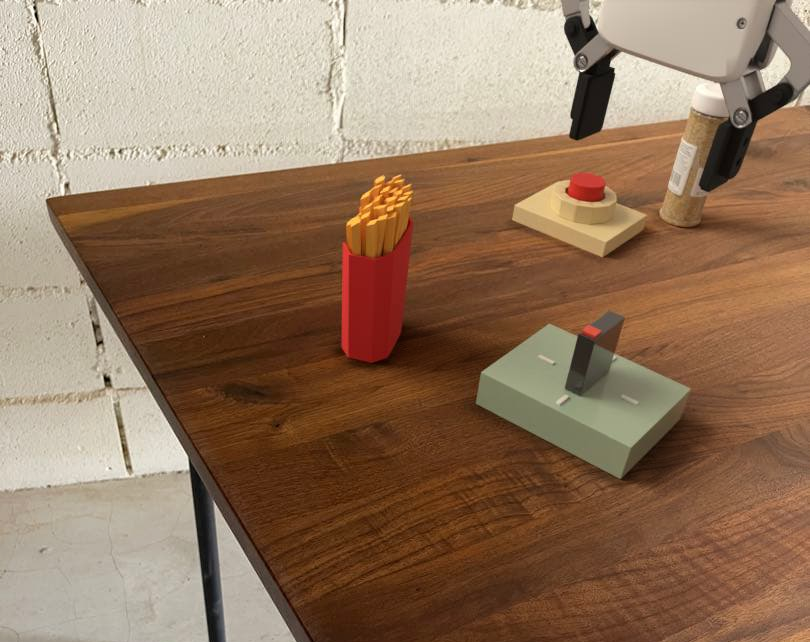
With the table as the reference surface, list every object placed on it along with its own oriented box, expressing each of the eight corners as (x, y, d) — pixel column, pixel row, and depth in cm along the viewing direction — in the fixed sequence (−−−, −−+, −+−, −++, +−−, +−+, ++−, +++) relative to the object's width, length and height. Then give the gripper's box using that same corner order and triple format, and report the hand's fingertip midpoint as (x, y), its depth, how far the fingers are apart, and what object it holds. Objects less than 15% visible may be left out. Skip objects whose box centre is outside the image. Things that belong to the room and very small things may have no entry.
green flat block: (679, 419, 70) (692, 386, 68) (620, 479, 64) (631, 445, 62) (542, 354, 75) (549, 321, 73) (475, 403, 70) (481, 370, 67)
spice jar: (701, 231, 95) (745, 99, 86) (658, 225, 95) (698, 93, 86) (697, 213, 98) (740, 84, 89) (656, 207, 99) (694, 78, 89)
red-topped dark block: (593, 364, 69) (609, 306, 66) (609, 371, 69) (626, 314, 65) (564, 388, 67) (578, 330, 63) (579, 396, 66) (595, 337, 63)
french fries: (363, 309, 78) (371, 161, 69) (409, 319, 78) (424, 171, 68) (329, 364, 72) (333, 208, 63) (380, 375, 71) (391, 220, 62)
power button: (608, 197, 92) (612, 180, 91) (591, 207, 90) (595, 190, 89) (578, 186, 93) (582, 169, 92) (560, 195, 91) (564, 179, 90)
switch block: (643, 230, 94) (652, 198, 92) (602, 257, 89) (610, 224, 87) (555, 195, 99) (562, 164, 96) (511, 220, 93) (517, 187, 91)
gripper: (931, -145, 44) (793, 191, 56) (635, -202, 51) (568, 107, 63) (881, -140, 40) (742, 224, 52) (564, -203, 47) (507, 129, 59)
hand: (646, 159), depth 58 cm, fingers open, 9 cm apart
